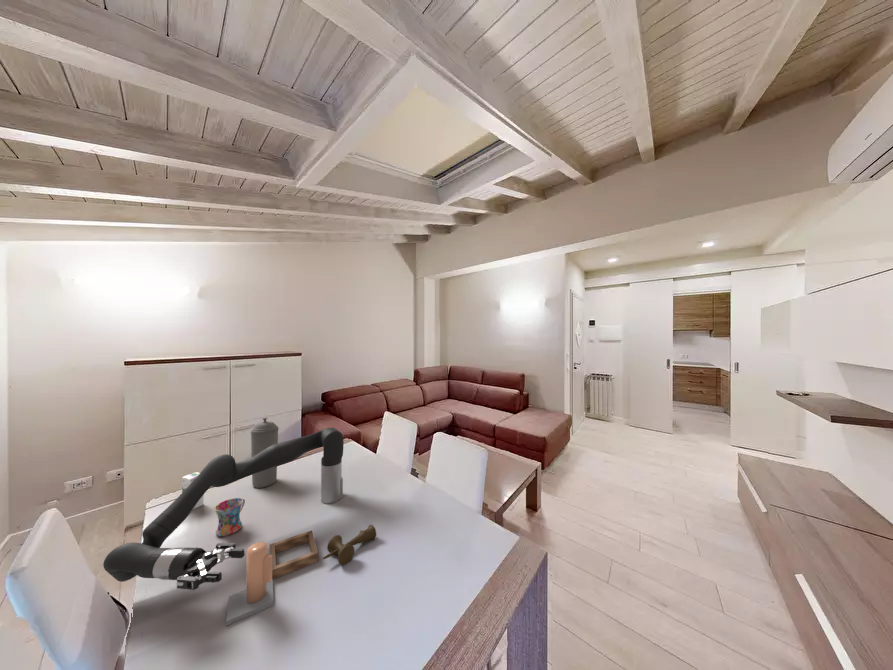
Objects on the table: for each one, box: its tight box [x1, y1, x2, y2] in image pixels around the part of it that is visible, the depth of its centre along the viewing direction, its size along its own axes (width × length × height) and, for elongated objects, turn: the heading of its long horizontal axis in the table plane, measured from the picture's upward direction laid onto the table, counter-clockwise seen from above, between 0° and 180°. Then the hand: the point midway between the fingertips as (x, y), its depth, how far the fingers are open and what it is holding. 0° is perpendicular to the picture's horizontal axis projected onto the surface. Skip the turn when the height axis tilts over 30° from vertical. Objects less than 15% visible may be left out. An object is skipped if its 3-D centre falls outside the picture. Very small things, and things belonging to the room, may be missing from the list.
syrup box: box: [181, 471, 205, 510], centre depth 132 cm, size 6×6×14 cm
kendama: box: [322, 524, 377, 566], centre depth 104 cm, size 6×10×20 cm
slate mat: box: [225, 579, 275, 626], centre depth 84 cm, size 11×9×1 cm
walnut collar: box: [269, 529, 319, 580], centre depth 101 cm, size 14×14×3 cm
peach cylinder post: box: [245, 541, 272, 604], centre depth 85 cm, size 7×5×14 cm
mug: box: [214, 497, 246, 537], centre depth 117 cm, size 12×9×11 cm
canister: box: [250, 417, 279, 489], centre depth 153 cm, size 13×13×35 cm
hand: (232, 564), depth 84 cm, fingers open, 8 cm apart
